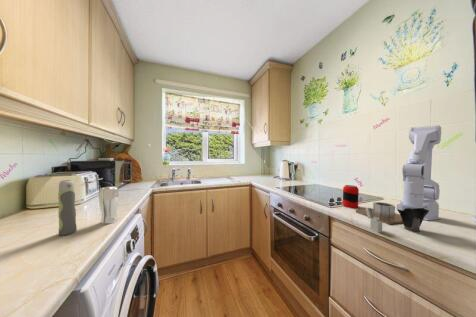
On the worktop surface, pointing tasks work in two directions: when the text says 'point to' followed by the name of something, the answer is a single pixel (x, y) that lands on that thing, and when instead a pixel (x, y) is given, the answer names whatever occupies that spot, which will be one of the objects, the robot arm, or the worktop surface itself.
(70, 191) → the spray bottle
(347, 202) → the soda can
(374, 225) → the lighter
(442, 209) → the worktop surface
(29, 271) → the worktop surface
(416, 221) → the grey short cylinder
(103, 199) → the beer glass
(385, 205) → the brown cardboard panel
